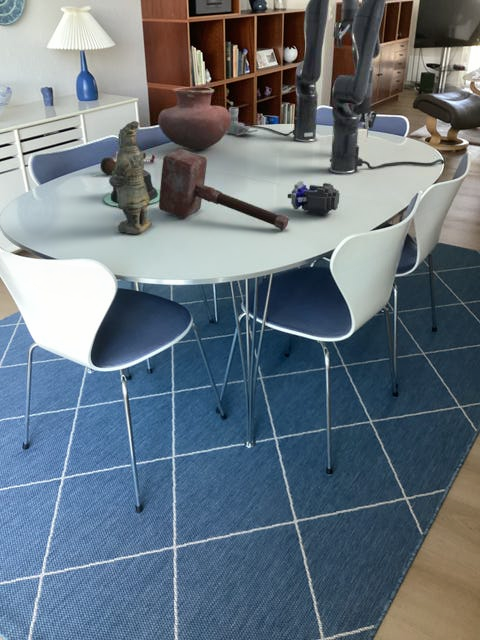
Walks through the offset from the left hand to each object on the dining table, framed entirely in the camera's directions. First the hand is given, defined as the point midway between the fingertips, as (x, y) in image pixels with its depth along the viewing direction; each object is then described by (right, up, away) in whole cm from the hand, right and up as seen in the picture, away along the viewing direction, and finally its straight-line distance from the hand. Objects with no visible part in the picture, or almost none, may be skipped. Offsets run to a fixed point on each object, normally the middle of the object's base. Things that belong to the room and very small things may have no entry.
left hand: (347, 47), depth 260 cm
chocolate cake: (-86, -87, -73) cm, 142 cm away
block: (-2, -55, -34) cm, 64 cm away
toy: (-28, -95, -89) cm, 133 cm away
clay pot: (-70, -53, -16) cm, 89 cm away
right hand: (-2, -54, -34) cm, 64 cm away
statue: (-81, -101, -98) cm, 163 cm away
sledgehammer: (-55, -98, -94) cm, 146 cm away
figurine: (-95, -68, -41) cm, 124 cm away
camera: (-50, -39, +8) cm, 64 cm away
